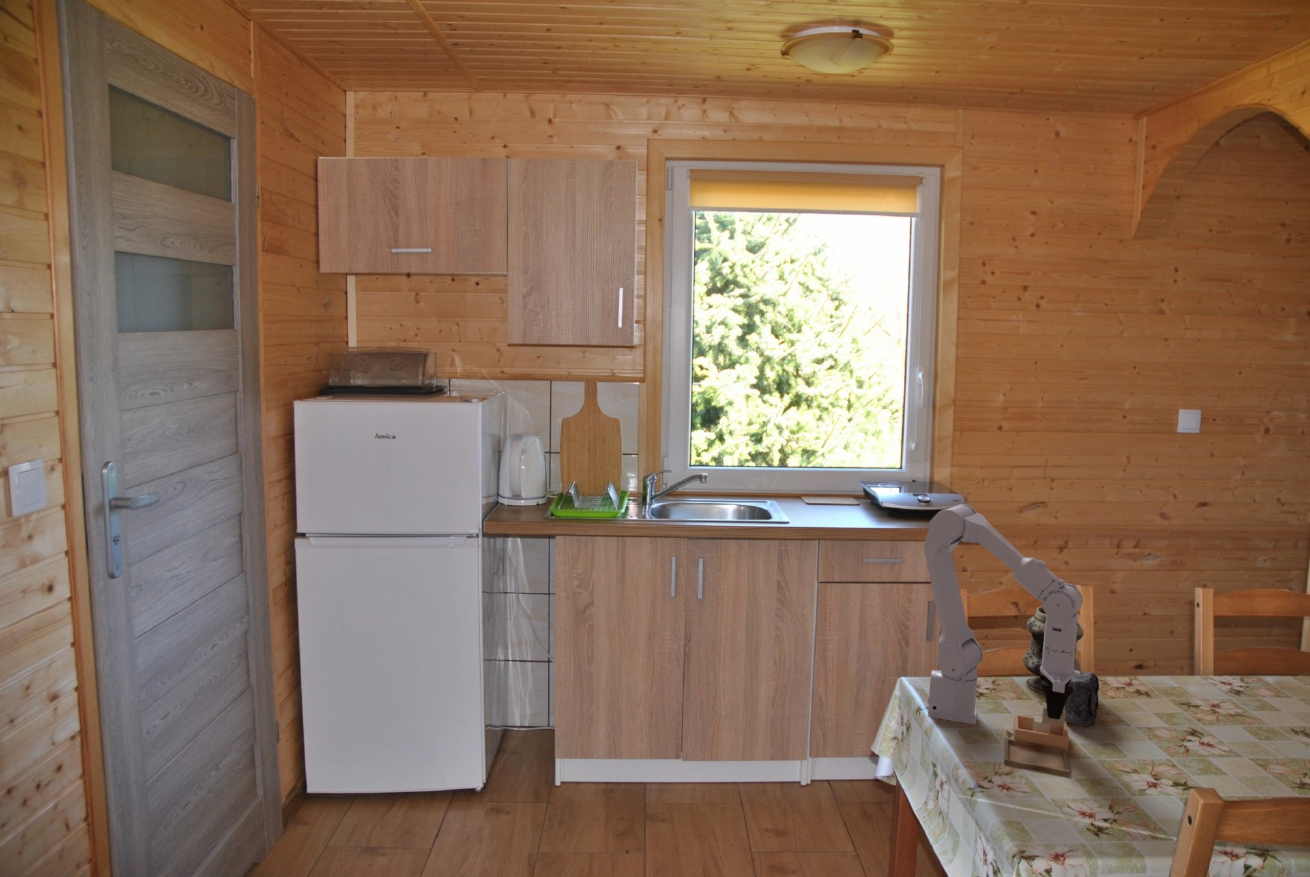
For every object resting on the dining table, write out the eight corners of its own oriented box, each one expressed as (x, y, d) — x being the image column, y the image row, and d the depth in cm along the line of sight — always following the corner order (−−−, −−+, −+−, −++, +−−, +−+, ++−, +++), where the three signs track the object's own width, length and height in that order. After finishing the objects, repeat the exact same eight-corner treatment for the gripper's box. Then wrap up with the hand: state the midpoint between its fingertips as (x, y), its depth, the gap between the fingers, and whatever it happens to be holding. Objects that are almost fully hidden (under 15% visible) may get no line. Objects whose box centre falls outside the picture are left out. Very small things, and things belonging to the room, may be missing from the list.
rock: (1088, 733, 185) (1092, 684, 184) (1059, 725, 189) (1063, 677, 188) (1100, 717, 193) (1104, 670, 192) (1072, 710, 197) (1076, 664, 196)
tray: (1004, 766, 170) (1004, 759, 170) (1004, 743, 179) (1004, 737, 179) (1068, 778, 166) (1069, 771, 166) (1065, 754, 176) (1066, 748, 175)
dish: (1013, 744, 179) (1015, 729, 179) (1013, 729, 186) (1014, 714, 186) (1067, 754, 176) (1068, 738, 175) (1064, 738, 183) (1066, 722, 182)
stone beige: (1041, 722, 179) (1043, 708, 179) (1041, 716, 182) (1042, 702, 181) (1064, 726, 178) (1065, 712, 177) (1063, 720, 180) (1064, 706, 180)
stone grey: (1034, 721, 179) (1050, 724, 178) (1033, 715, 182) (1050, 718, 181) (1032, 740, 180) (1049, 743, 179) (1032, 734, 183) (1048, 737, 182)
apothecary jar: (1066, 703, 200) (1073, 623, 198) (1012, 686, 208) (1018, 610, 206) (1085, 688, 209) (1093, 612, 207) (1032, 673, 217) (1039, 599, 215)
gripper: (1084, 663, 170) (1078, 733, 171) (1079, 639, 183) (1073, 704, 185) (1043, 657, 172) (1037, 726, 174) (1040, 633, 186) (1035, 698, 187)
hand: (1053, 714), depth 179 cm, fingers closed on stone beige, 3 cm apart
